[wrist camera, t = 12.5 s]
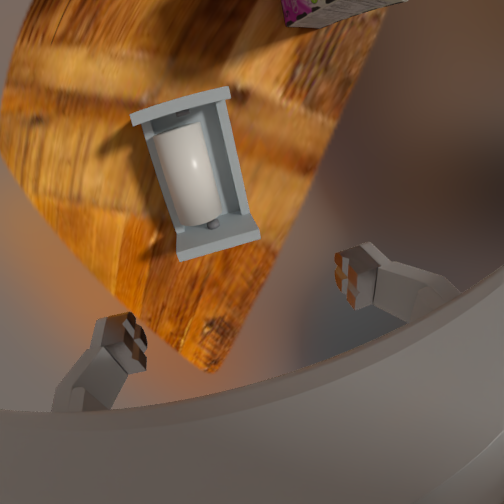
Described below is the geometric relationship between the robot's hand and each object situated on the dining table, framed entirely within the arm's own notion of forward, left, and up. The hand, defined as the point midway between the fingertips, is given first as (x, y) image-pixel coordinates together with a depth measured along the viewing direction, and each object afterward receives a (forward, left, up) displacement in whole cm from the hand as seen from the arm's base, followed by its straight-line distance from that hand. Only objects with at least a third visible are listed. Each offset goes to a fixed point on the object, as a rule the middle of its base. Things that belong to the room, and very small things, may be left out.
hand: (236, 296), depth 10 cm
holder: (0, -1, -24) cm, 24 cm away
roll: (0, -1, -23) cm, 23 cm away
